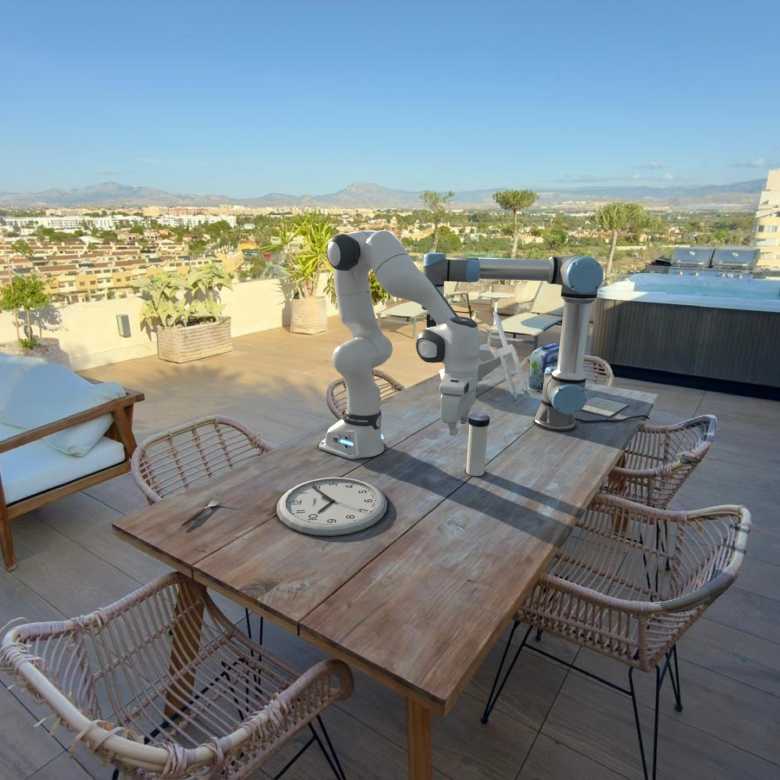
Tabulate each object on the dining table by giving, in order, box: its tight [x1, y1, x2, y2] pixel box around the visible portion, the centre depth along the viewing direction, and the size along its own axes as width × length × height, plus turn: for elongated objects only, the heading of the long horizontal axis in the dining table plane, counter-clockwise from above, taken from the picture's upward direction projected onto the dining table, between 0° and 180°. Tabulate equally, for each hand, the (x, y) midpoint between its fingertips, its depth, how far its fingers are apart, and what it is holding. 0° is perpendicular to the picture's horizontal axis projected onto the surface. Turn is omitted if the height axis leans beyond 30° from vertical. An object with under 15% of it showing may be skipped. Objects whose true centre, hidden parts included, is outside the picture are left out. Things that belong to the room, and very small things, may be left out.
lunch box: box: [528, 343, 560, 392], centre depth 249 cm, size 26×11×21 cm, turn 134°
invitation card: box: [580, 396, 629, 418], centre depth 226 cm, size 21×1×15 cm
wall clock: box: [276, 476, 388, 537], centre depth 142 cm, size 30×2×30 cm
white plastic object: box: [438, 310, 531, 400], centre depth 245 cm, size 37×45×31 cm
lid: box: [467, 412, 491, 427], centre depth 159 cm, size 6×6×2 cm
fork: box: [180, 491, 225, 527], centre depth 138 cm, size 3×16×2 cm, turn 160°
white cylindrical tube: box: [465, 423, 489, 477], centre depth 161 cm, size 6×6×18 cm
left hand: (458, 428), depth 142 cm, fingers open, 8 cm apart
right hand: (430, 357), depth 190 cm, fingers open, 13 cm apart
